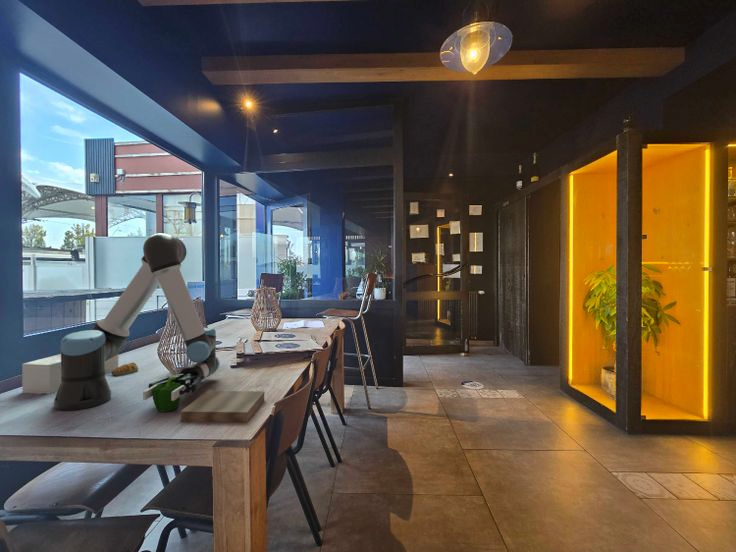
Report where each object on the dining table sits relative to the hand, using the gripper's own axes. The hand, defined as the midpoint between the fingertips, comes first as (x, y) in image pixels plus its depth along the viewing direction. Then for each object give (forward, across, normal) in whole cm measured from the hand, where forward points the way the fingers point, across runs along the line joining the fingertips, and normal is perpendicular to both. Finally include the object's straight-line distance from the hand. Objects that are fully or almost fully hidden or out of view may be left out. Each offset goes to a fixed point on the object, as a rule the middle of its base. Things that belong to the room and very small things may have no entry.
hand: (158, 396), depth 111 cm
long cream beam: (-33, +53, -6) cm, 63 cm away
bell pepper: (-5, 0, -6) cm, 8 cm away
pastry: (-44, +40, -6) cm, 59 cm away
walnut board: (-5, -19, -6) cm, 21 cm away
